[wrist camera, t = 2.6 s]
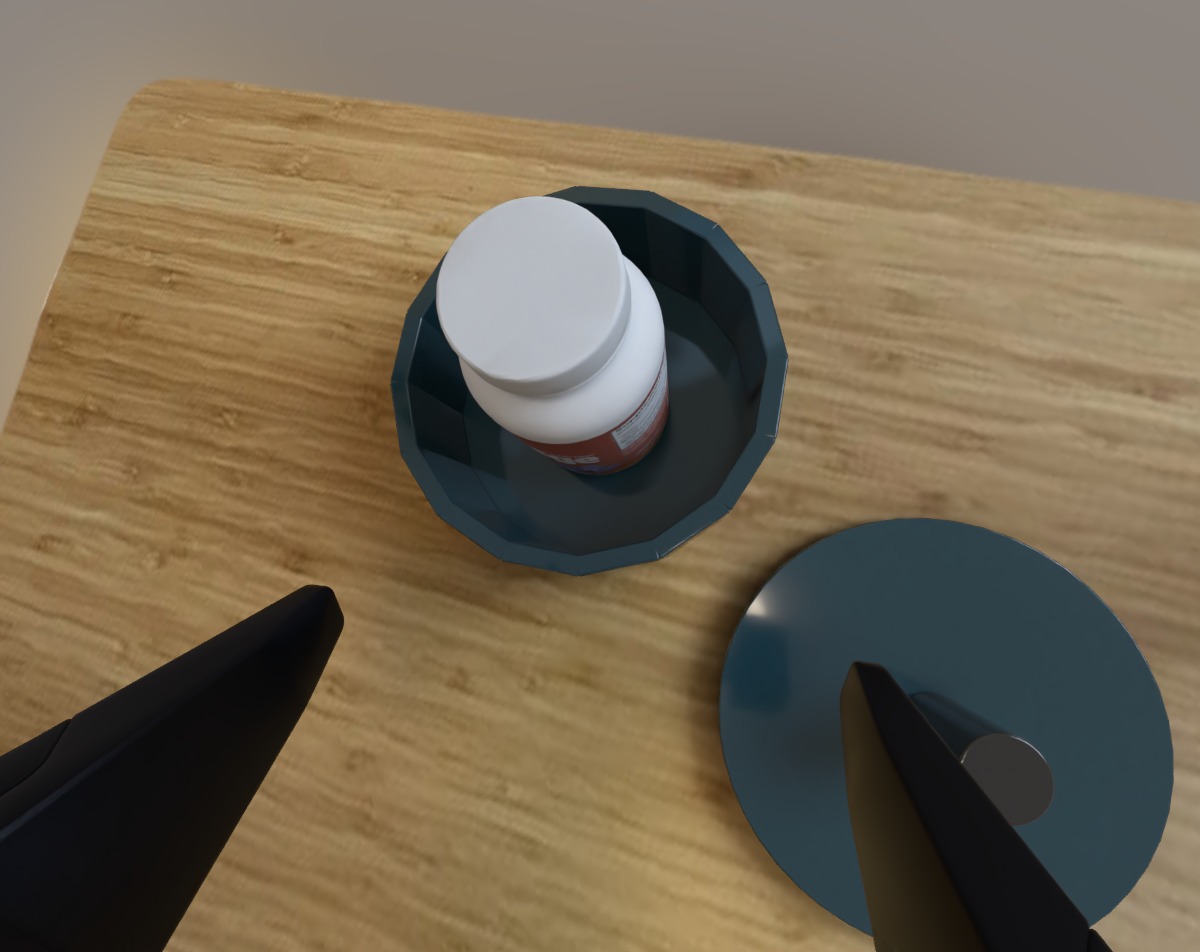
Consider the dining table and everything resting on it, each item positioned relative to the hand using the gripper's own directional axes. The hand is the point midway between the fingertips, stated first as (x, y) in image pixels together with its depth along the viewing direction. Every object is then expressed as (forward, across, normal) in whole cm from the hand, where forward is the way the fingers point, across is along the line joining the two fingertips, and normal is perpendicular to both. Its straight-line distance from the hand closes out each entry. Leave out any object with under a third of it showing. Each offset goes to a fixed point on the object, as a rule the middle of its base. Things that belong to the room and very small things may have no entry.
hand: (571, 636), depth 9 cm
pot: (+15, +2, +3) cm, 16 cm away
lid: (+7, -11, +11) cm, 17 cm away
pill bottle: (+15, +2, +3) cm, 16 cm away
